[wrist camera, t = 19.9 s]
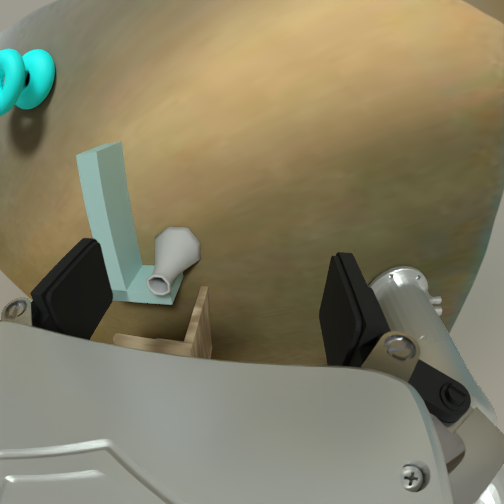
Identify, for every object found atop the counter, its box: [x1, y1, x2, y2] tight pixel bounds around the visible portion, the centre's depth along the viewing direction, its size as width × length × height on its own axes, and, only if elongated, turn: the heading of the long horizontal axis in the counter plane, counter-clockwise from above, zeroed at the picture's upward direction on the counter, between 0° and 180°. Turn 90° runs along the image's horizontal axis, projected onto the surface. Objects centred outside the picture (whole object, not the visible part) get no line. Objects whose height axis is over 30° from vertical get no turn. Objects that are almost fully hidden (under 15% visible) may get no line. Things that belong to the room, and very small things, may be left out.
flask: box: [146, 227, 201, 296], centre depth 39 cm, size 7×7×10 cm
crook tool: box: [76, 142, 183, 305], centre depth 38 cm, size 10×22×7 cm, turn 1°
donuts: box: [0, 49, 55, 116], centre depth 25 cm, size 10×10×10 cm
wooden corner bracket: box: [113, 286, 212, 359], centre depth 45 cm, size 11×15×14 cm
